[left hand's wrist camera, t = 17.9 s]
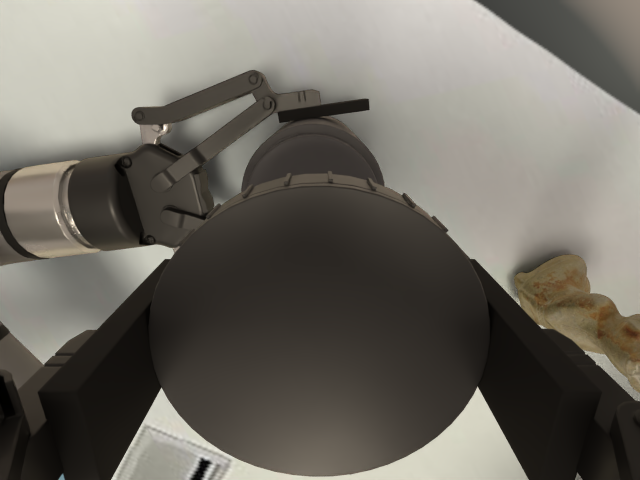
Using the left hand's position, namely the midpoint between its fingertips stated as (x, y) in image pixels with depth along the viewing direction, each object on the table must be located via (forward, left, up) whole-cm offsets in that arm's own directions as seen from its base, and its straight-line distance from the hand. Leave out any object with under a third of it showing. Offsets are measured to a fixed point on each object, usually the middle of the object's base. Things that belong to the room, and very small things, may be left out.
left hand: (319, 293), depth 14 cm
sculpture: (-26, -1, -24) cm, 35 cm away
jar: (+1, -1, -24) cm, 24 cm away
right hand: (-3, -3, -18) cm, 18 cm away
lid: (0, 0, +3) cm, 3 cm away
